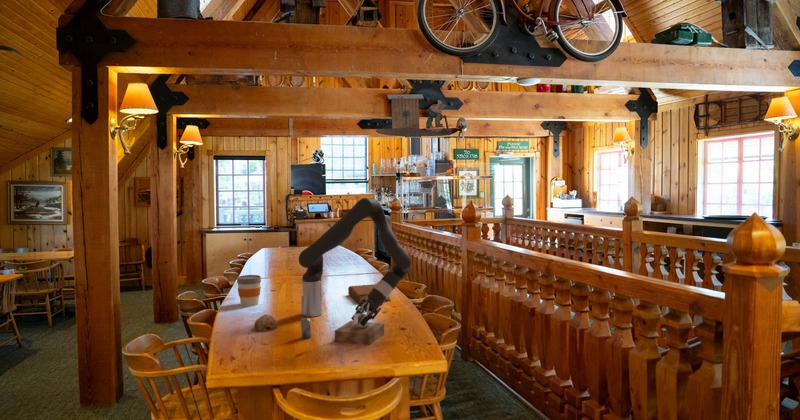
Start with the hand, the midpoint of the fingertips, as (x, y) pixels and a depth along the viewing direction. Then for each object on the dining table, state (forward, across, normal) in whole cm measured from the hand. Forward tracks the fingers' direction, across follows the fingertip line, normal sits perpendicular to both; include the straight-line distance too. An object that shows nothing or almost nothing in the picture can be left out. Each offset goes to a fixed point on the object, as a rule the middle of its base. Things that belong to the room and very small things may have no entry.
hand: (357, 322), depth 221 cm
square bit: (+4, 0, +6) cm, 7 cm away
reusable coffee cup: (+22, -84, -12) cm, 88 cm away
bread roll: (+26, -36, -16) cm, 47 cm away
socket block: (+4, 0, +6) cm, 7 cm away
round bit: (+18, -12, -8) cm, 23 cm away
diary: (-22, -64, +32) cm, 74 cm away
